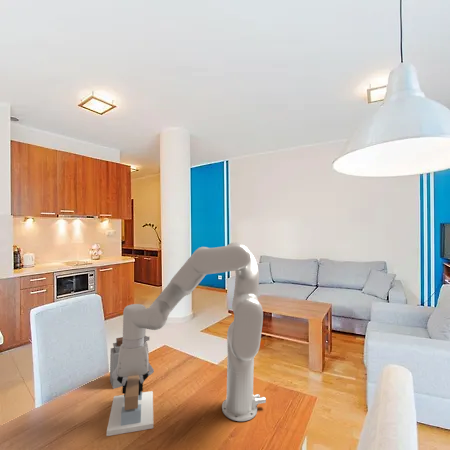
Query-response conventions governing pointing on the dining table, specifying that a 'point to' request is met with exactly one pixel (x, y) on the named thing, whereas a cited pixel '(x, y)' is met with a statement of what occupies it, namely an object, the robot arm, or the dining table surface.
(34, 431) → the dining table surface
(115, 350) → the perfume bottle
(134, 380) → the long tan plank
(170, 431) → the dining table surface
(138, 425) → the stand
